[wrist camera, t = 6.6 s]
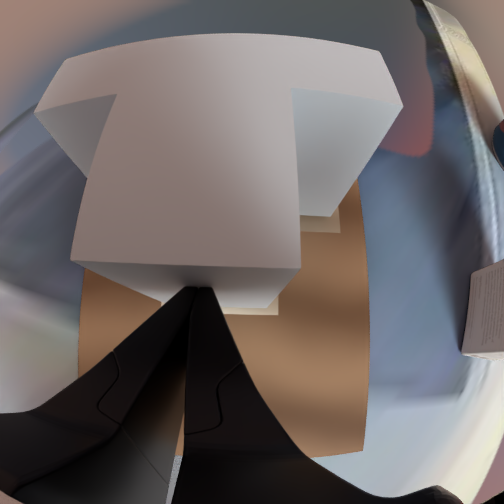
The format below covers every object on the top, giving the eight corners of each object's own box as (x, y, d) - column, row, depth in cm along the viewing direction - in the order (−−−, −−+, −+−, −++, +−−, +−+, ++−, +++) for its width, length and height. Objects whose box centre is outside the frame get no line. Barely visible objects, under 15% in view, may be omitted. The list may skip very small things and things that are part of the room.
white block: (334, 308, 14) (442, 269, 6) (106, 299, 14) (-16, 254, 6) (326, 170, 17) (379, 51, 8) (128, 168, 16) (65, 59, 8)
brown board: (356, 445, 13) (363, 450, 12) (89, 430, 13) (81, 434, 12) (348, 162, 18) (353, 153, 17) (115, 158, 18) (110, 150, 17)
